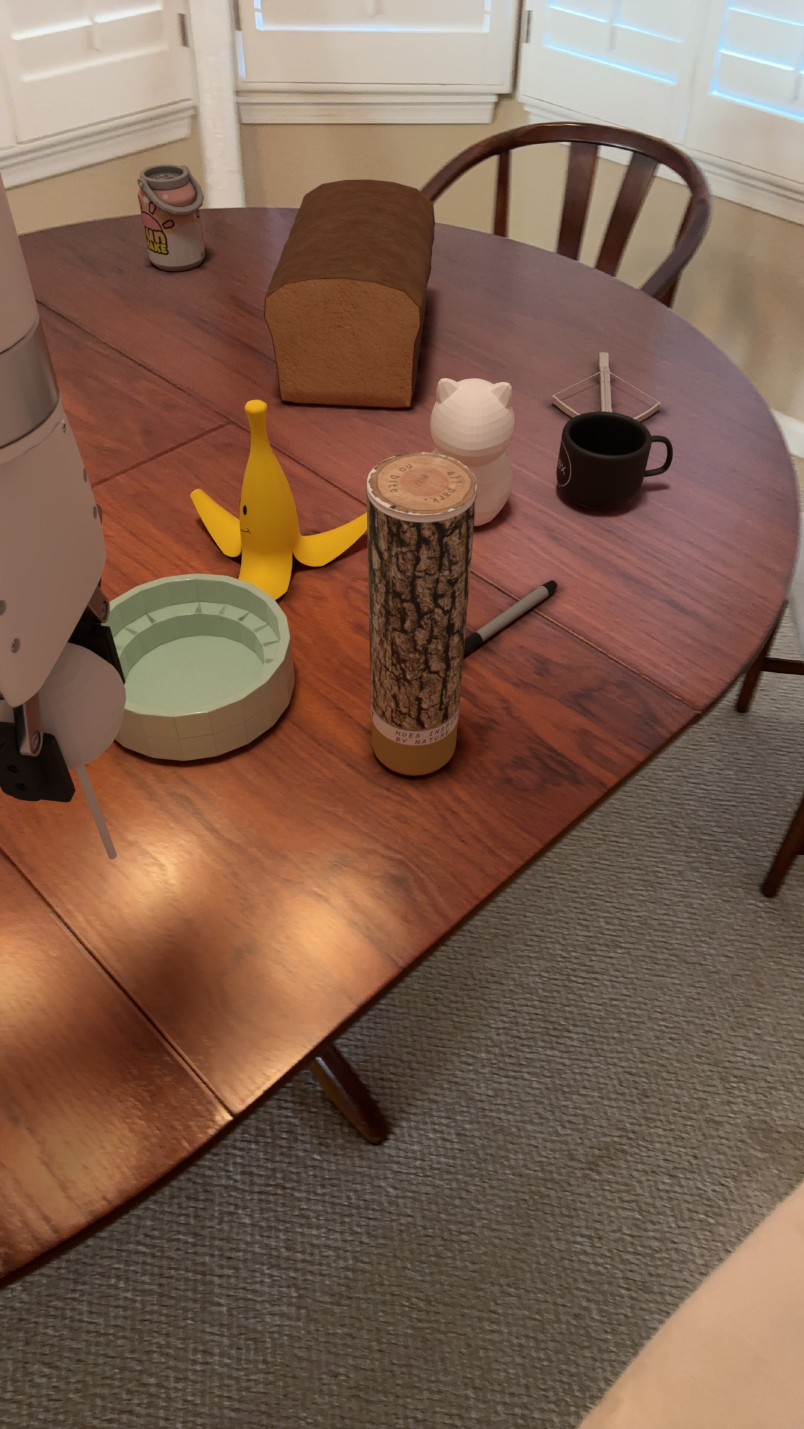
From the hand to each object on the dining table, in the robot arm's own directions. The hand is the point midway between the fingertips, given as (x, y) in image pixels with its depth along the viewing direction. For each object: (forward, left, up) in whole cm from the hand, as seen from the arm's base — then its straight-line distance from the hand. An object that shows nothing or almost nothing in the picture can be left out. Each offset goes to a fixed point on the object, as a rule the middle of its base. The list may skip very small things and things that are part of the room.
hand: (67, 735), depth 44 cm
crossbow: (+32, +80, -25) cm, 89 cm away
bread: (0, +88, -25) cm, 91 cm away
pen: (+21, +37, -25) cm, 49 cm away
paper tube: (+15, +22, -25) cm, 36 cm away
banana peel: (+1, +45, -24) cm, 51 cm away
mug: (+32, +60, -25) cm, 72 cm away
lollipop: (0, 0, -10) cm, 10 cm away
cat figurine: (+17, +56, -25) cm, 63 cm away
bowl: (-4, +26, -24) cm, 36 cm away
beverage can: (-29, +111, -25) cm, 117 cm away
